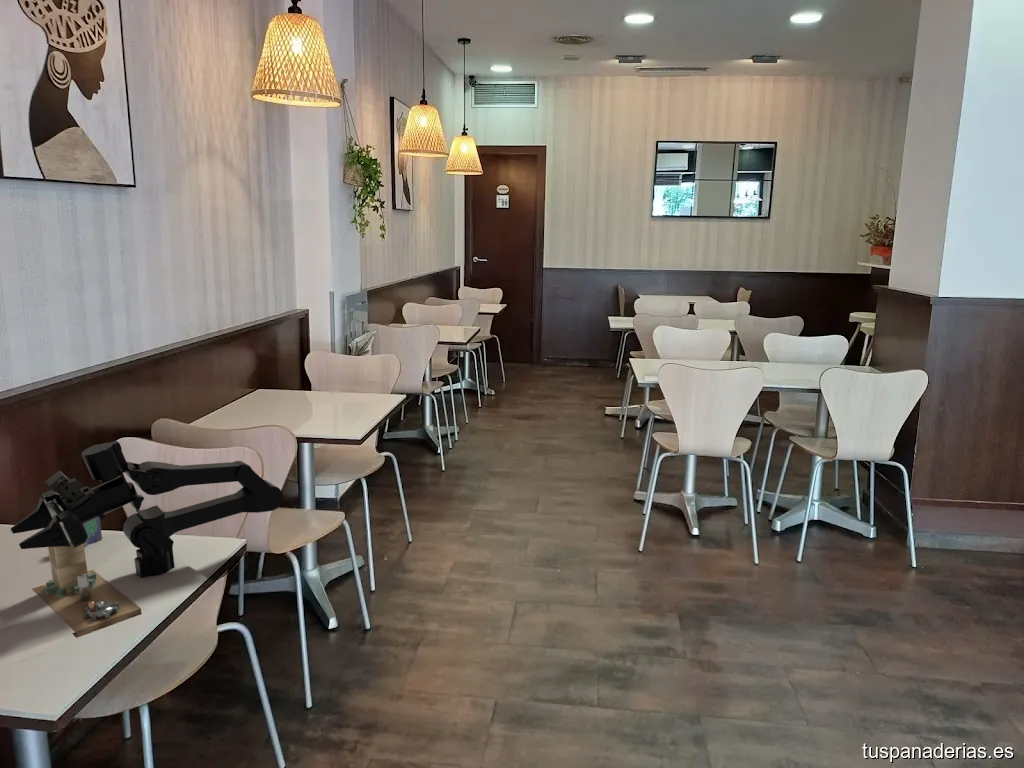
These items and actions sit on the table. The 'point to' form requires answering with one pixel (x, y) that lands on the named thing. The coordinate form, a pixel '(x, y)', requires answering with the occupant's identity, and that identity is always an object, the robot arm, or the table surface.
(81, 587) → the peg
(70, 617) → the gear board
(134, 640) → the table surface
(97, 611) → the drive gear
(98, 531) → the flask
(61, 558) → the open-ended square tube
